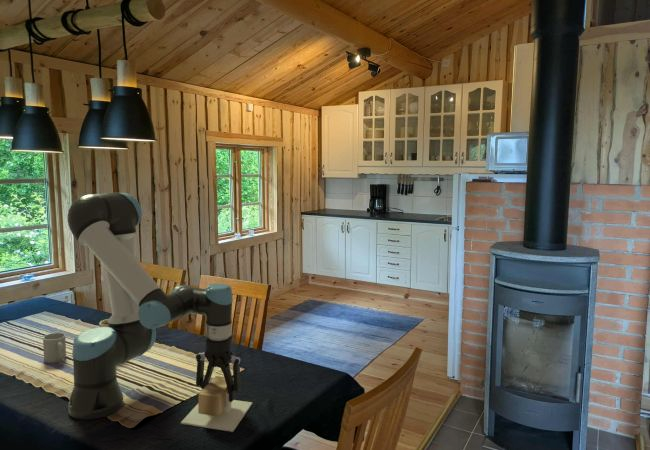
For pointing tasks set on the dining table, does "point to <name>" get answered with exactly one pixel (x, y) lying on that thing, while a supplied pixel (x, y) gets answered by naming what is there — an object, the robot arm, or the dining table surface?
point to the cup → (54, 347)
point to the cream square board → (219, 417)
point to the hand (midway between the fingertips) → (218, 409)
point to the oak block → (213, 397)
